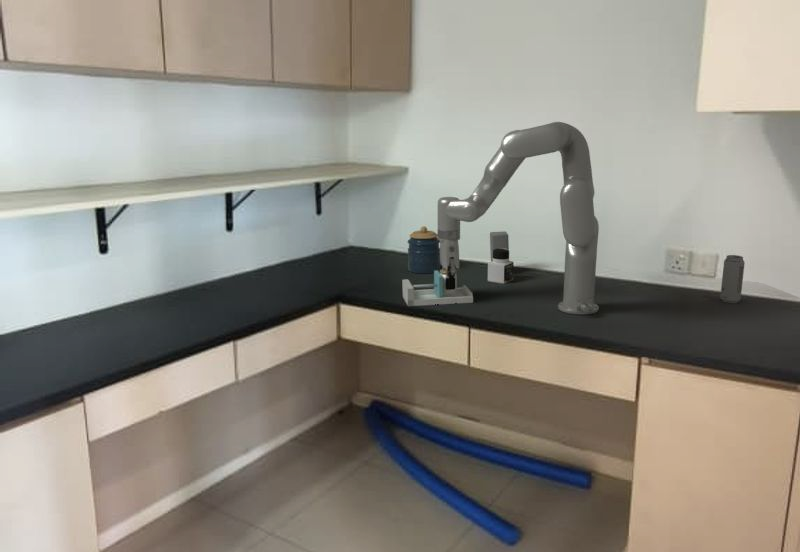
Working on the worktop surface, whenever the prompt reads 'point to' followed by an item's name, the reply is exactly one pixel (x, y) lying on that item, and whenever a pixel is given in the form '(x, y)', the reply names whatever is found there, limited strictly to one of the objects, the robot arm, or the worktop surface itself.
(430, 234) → the canister
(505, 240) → the skincare box
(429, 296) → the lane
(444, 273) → the jar
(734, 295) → the energy drink can
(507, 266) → the medicine bottle
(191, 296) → the worktop surface
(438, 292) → the pusher
